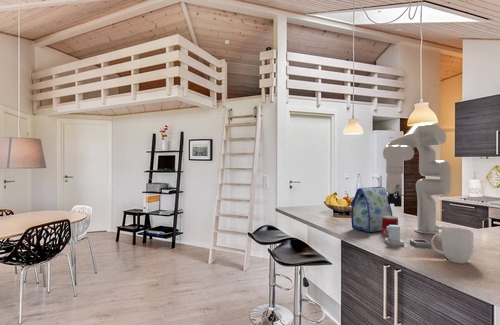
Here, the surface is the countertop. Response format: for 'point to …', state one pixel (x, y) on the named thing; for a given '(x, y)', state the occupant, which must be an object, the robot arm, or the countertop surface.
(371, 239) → the countertop surface
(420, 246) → the panel
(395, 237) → the plug
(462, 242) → the mug
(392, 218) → the canned food
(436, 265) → the countertop surface
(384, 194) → the lunch bag
